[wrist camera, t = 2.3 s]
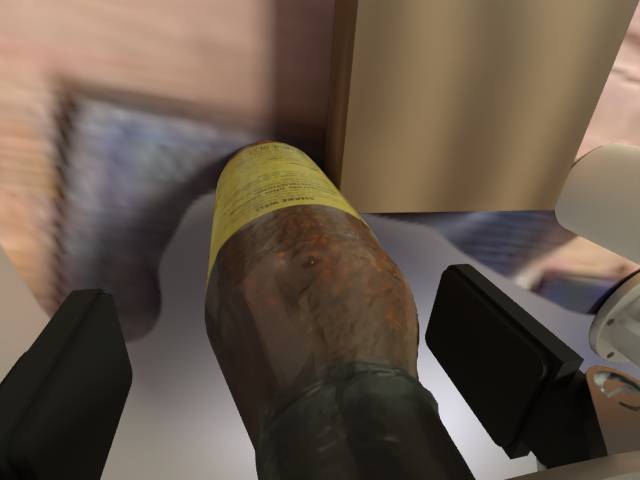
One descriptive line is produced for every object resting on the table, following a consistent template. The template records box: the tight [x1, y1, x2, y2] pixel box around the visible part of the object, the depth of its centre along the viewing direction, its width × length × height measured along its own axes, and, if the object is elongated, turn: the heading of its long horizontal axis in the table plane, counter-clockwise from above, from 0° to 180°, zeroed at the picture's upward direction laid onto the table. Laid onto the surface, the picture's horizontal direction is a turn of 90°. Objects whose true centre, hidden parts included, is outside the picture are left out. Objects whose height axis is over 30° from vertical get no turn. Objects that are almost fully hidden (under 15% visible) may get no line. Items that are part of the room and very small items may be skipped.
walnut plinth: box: [323, 0, 639, 213], centre depth 18 cm, size 14×14×4 cm
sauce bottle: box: [205, 140, 476, 480], centre depth 12 cm, size 7×6×20 cm
